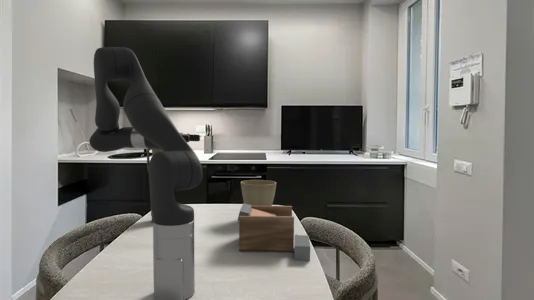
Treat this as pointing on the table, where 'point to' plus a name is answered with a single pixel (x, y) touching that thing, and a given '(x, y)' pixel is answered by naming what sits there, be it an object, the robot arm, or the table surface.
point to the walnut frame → (267, 230)
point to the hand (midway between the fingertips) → (194, 138)
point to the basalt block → (302, 248)
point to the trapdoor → (252, 211)
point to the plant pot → (258, 192)
